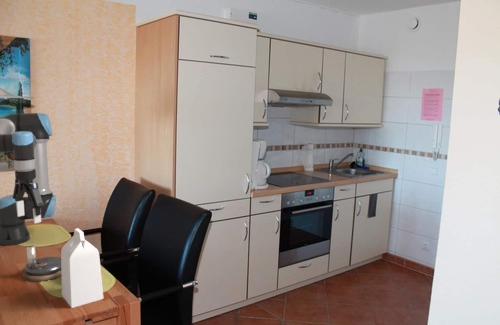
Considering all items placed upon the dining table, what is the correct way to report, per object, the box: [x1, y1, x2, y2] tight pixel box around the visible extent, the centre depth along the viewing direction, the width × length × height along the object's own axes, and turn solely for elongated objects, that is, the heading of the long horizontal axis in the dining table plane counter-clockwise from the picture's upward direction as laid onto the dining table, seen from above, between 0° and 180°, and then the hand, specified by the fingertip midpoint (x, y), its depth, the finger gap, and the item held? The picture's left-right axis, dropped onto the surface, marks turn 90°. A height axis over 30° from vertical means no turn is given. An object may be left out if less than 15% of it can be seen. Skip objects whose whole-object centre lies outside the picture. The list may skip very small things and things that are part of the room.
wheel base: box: [22, 268, 62, 283], centre depth 180 cm, size 17×17×2 cm
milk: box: [60, 227, 104, 309], centre depth 158 cm, size 12×12×26 cm
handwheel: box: [24, 245, 61, 276], centre depth 179 cm, size 15×15×11 cm
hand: (29, 219), depth 179 cm, fingers open, 13 cm apart
